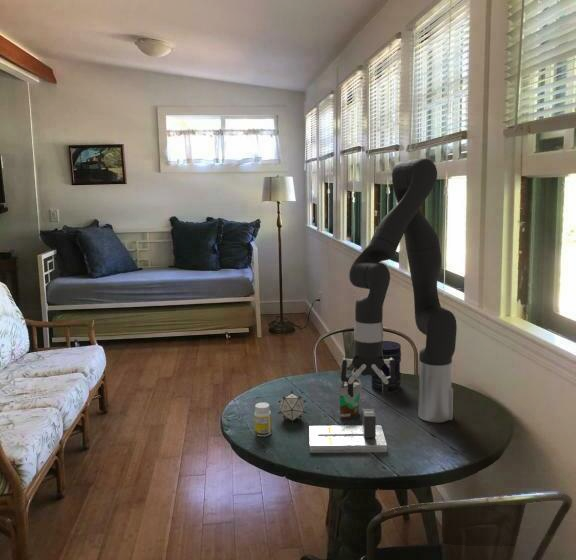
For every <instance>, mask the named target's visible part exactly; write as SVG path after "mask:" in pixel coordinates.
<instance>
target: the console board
mask: <svg viewBox="0 0 576 560" xmlns="http://www.w3.org/2000/svg"><path fill="white" fill-rule="evenodd" d="M308 430H309V453H310V454H316V453H317V454H318V453H319V454H320V453H322V454H325V453H326V454H327V453H328V454H330V453H333V454H335V453H338V454H339V453H341V454H342V453H344V454H346V453H348V454H349V453H350V454H351V453H387V452H388V444H387V440H386V438H385V434H384V431H383V428H382V425H381V424H380V425H378V424H377V425H376V438H364V434H363V430H362V424H361V425H356V424H355V425H309V428H308Z"/></svg>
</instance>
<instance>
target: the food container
mask: <svg viewBox="0 0 576 560" xmlns="http://www.w3.org/2000/svg"><path fill="white" fill-rule="evenodd" d="M346 376H348V377H349V375H347V374H346ZM341 383H342V384H341V387H339V412H340V413H339V414H340V418H339V419H340V420H349V419H354V418H356V417H357V416H359V412H360V411H359V410H360V409H359V408H360V395H361V392H362V390H363V385H362V382H361V380H360V379H359V378H358V377H357V378H356V379H355V380H354V381H353V397H350V395H348V383H347V382H341Z"/></svg>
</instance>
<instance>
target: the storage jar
mask: <svg viewBox="0 0 576 560" xmlns="http://www.w3.org/2000/svg"><path fill="white" fill-rule="evenodd" d="M401 349H402V347H401V343H399V342H398V341H397V342H396V341H392V340H383V359H389V358H391V357H392V358H393V359H394V361H395V378H396V380H395V382H390V383H389V384H388V394H392V393H397V392H399V391H400V390H401V382H402V381H401V380H402V377H401V376H402V374H401V360H402V358H401V357H402V352H401ZM381 370H382V372H383V373H384V374H385V376H386V377H388V376H390V371H389V367H387V364H384V365H383V366H382V368H381ZM370 376H371V375H370ZM370 381H371V383H370V384H371V387H370V388H371V389H372V391H375V392H377V393H381V394H382V382H383V381H382V380H381V378H380V377H379V376H378V375H377V374H375V375H374V376H371V377H370Z"/></svg>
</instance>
